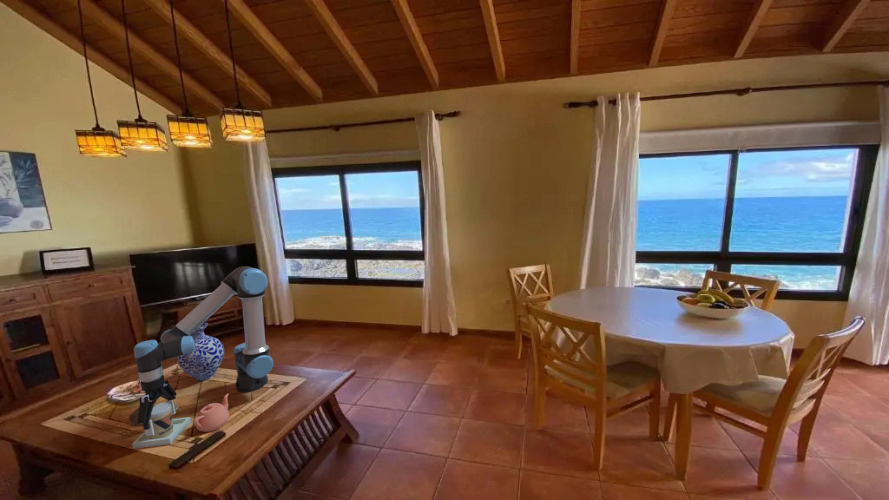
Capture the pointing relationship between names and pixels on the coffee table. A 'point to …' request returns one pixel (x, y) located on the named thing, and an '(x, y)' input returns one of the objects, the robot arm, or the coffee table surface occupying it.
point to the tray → (177, 430)
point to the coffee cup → (161, 421)
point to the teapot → (212, 416)
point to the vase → (202, 356)
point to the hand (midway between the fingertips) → (161, 424)
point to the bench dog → (134, 417)
